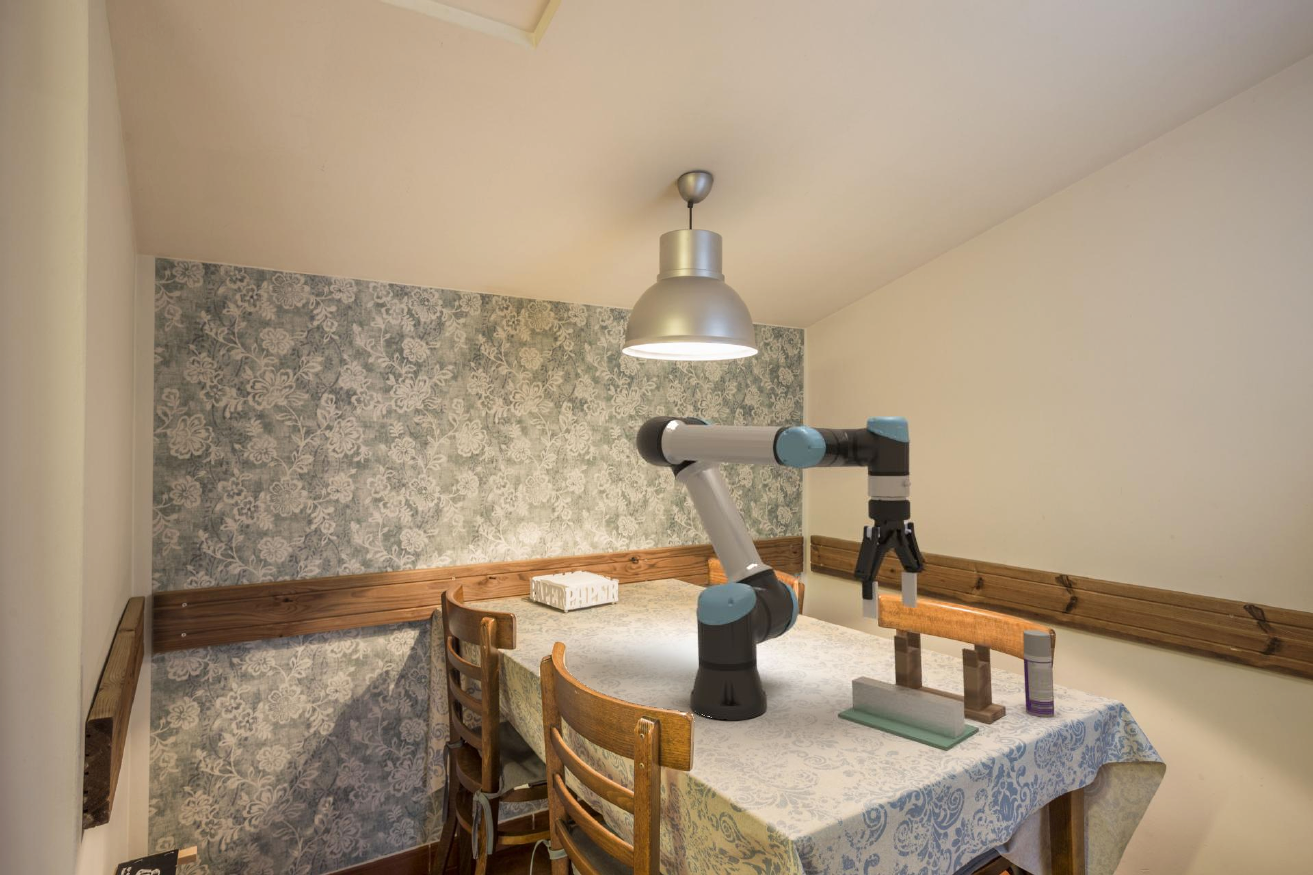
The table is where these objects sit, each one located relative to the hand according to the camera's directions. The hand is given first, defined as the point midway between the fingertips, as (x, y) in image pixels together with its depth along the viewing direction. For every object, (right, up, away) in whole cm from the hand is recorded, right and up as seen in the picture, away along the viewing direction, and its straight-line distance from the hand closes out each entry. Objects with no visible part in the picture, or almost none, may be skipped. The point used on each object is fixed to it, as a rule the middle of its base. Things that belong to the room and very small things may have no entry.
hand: (890, 611), depth 126 cm
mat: (+2, -20, -3) cm, 20 cm away
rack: (+12, -20, +6) cm, 24 cm away
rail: (+2, -19, -3) cm, 19 cm away
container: (+29, -20, +1) cm, 35 cm away
